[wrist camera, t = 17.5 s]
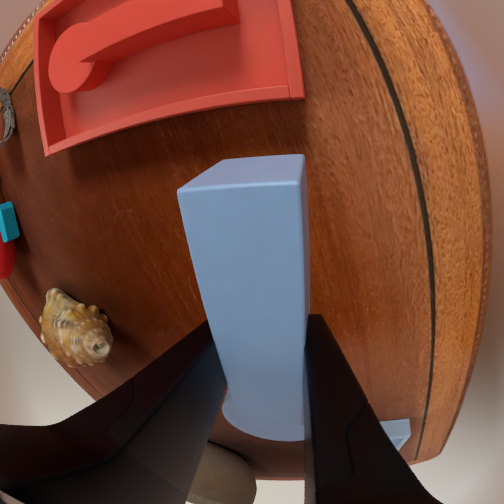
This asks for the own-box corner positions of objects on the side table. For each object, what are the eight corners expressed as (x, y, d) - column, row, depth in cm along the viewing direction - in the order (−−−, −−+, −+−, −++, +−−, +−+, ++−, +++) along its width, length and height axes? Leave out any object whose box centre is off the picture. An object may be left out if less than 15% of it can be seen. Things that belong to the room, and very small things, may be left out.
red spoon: (233, -26, 9) (216, -48, 6) (243, 43, 11) (227, 30, 8) (65, 43, 11) (35, 43, 9) (70, 100, 14) (39, 106, 11)
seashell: (86, 249, 24) (56, 302, 15) (139, 303, 28) (136, 370, 19) (38, 299, 24) (6, 358, 15) (88, 345, 28) (75, 409, 19)
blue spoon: (180, 165, 8) (122, 196, 5) (351, 152, 6) (374, 180, 4) (240, 406, 13) (227, 452, 11) (330, 412, 12) (326, 461, 10)
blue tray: (311, 422, 26) (309, 440, 24) (409, 418, 23) (411, 435, 21) (305, 464, 33) (303, 476, 31) (376, 462, 31) (376, 475, 29)
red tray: (276, -67, 7) (269, -87, 5) (305, 99, 12) (304, 97, 10) (56, 19, 11) (34, 17, 9) (67, 149, 16) (45, 157, 14)
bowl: (150, 438, 40) (131, 481, 32) (171, 413, 31) (143, 475, 23) (234, 472, 42) (222, 514, 33) (284, 456, 32) (271, 515, 24)
